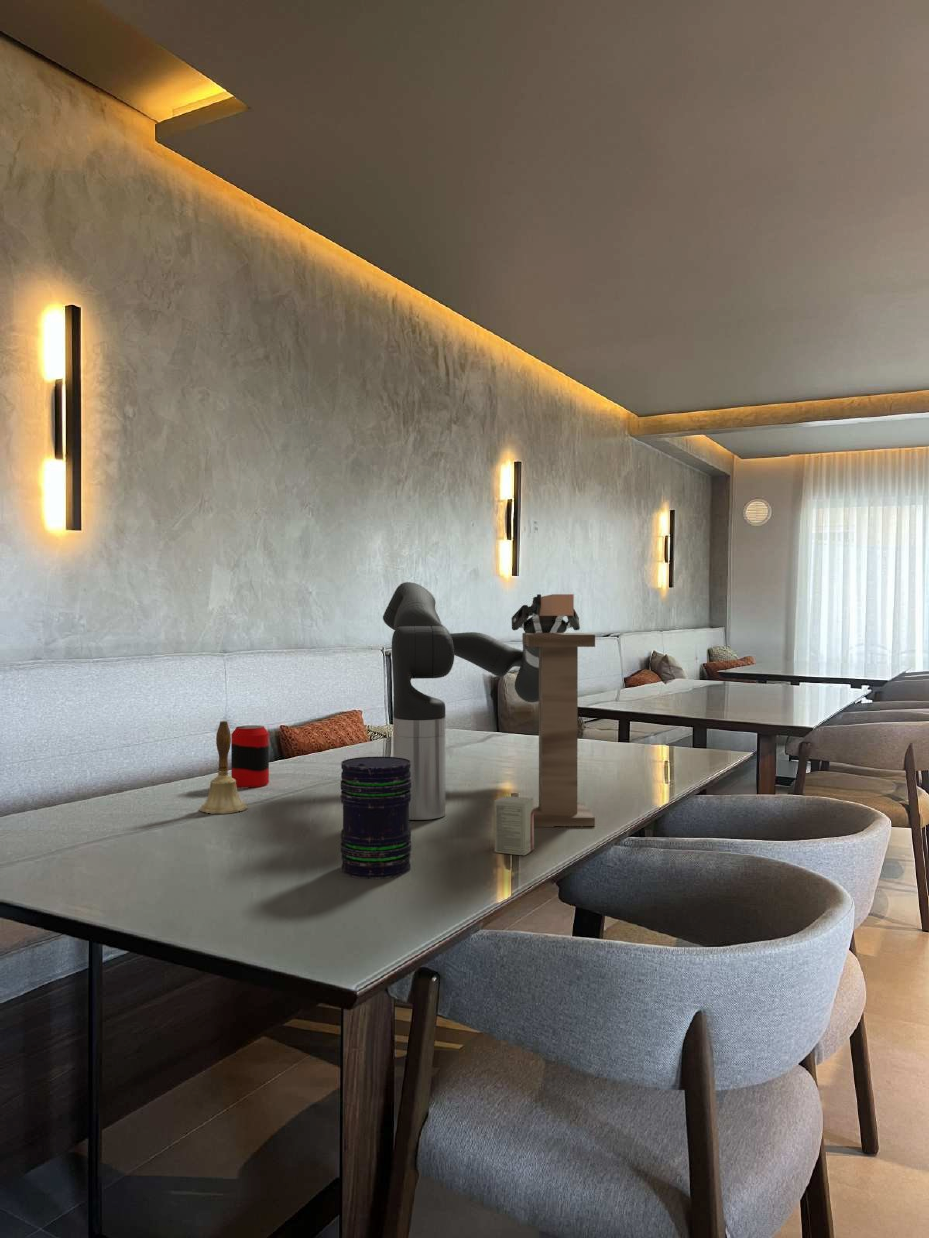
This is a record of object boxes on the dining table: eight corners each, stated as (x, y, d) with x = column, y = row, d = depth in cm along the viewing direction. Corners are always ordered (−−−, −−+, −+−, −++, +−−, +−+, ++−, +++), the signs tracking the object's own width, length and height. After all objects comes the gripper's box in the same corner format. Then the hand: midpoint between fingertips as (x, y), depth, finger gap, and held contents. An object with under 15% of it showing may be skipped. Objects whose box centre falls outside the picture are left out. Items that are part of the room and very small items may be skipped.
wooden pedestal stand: (594, 826, 157) (595, 634, 156) (528, 826, 156) (529, 634, 156) (582, 808, 171) (583, 632, 170) (522, 809, 170) (522, 632, 170)
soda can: (230, 782, 197) (230, 725, 197) (267, 780, 199) (266, 724, 199) (232, 789, 190) (232, 729, 189) (270, 787, 192) (270, 728, 192)
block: (573, 615, 155) (573, 594, 155) (552, 615, 155) (552, 594, 155) (556, 615, 179) (556, 597, 179) (538, 615, 179) (538, 597, 179)
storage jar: (376, 855, 138) (376, 754, 138) (426, 867, 132) (426, 760, 131) (325, 870, 130) (325, 762, 130) (376, 883, 124) (376, 770, 124)
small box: (535, 849, 141) (535, 797, 141) (525, 856, 138) (525, 802, 137) (503, 846, 143) (503, 794, 143) (493, 852, 140) (493, 799, 139)
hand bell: (196, 807, 172) (196, 720, 172) (241, 803, 176) (241, 718, 175) (203, 816, 165) (203, 725, 164) (251, 811, 168) (251, 722, 168)
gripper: (578, 658, 188) (589, 615, 173) (507, 658, 188) (512, 615, 173) (575, 626, 192) (586, 581, 177) (506, 626, 191) (511, 581, 176)
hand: (550, 598), depth 175 cm, fingers closed on block, 3 cm apart
